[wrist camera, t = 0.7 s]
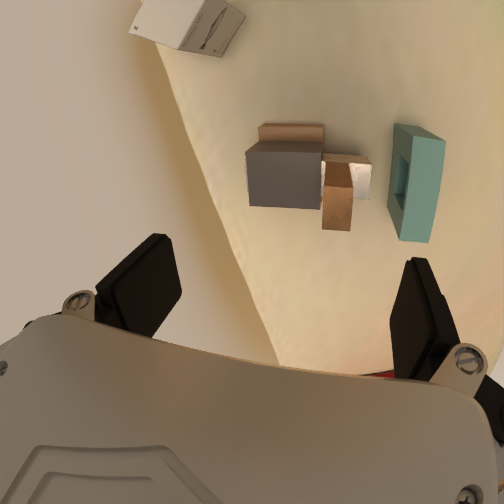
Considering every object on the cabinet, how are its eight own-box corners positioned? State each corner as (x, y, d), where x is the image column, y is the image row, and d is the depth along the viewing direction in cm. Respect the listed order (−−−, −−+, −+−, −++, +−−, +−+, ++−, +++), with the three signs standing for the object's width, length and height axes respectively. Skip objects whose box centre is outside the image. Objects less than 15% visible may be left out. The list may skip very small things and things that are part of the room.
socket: (394, 123, 31) (413, 135, 24) (420, 127, 30) (445, 141, 23) (387, 206, 38) (399, 240, 30) (411, 209, 37) (428, 243, 29)
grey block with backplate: (263, 124, 36) (243, 135, 29) (323, 124, 34) (320, 136, 27) (267, 192, 42) (250, 220, 34) (322, 194, 40) (319, 224, 32)
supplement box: (221, 59, 32) (176, 52, 22) (179, 40, 32) (124, 33, 21) (248, 16, 28) (211, -9, 18) (203, -2, 27) (154, -24, 17)
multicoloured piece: (253, 151, 35) (219, 183, 25) (367, 156, 31) (382, 190, 22) (255, 181, 37) (224, 223, 27) (365, 187, 33) (377, 233, 24)
